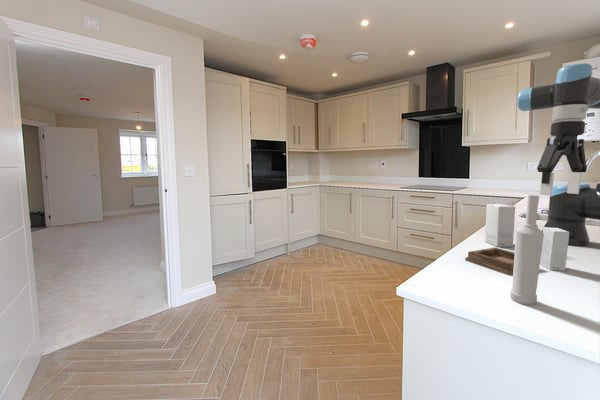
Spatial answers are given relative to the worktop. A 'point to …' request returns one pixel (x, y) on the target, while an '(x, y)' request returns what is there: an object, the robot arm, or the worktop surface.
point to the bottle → (527, 256)
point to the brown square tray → (493, 259)
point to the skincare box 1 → (500, 225)
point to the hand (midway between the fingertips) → (559, 194)
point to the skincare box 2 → (554, 248)
